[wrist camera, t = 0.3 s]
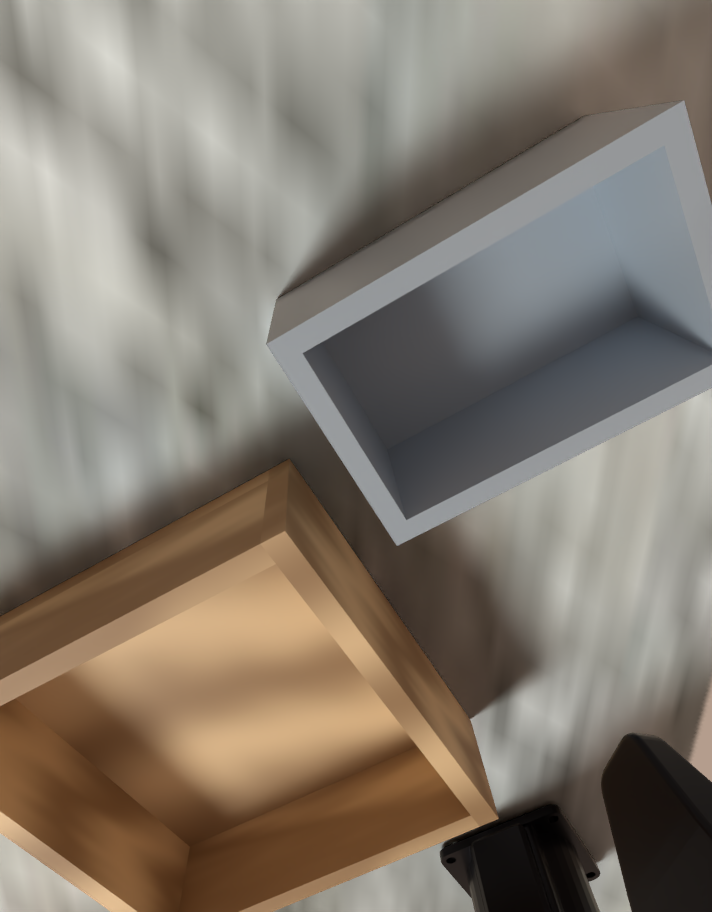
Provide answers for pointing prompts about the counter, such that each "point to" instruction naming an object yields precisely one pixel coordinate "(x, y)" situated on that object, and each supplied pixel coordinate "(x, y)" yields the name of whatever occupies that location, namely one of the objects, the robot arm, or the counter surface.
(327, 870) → the big crate
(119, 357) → the counter surface
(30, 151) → the counter surface
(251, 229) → the counter surface
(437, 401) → the small crate
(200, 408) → the counter surface
